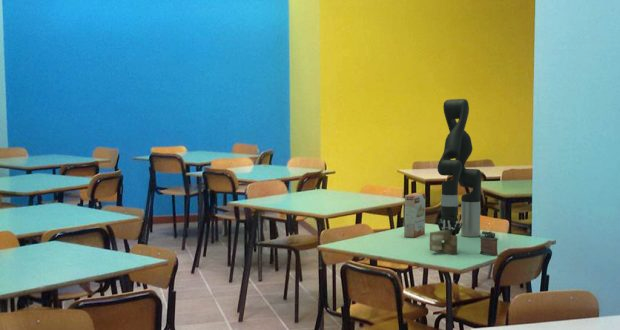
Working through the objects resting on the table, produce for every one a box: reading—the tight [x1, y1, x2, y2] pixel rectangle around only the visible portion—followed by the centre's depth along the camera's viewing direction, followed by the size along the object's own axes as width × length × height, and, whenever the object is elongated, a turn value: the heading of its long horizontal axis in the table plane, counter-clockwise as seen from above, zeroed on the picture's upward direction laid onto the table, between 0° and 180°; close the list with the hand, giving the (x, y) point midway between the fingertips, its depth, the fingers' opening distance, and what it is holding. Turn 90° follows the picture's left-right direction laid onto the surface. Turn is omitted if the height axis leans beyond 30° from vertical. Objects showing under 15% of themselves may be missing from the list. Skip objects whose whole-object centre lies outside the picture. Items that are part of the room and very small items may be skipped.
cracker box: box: [403, 192, 426, 239], centre depth 377 cm, size 14×6×21 cm, turn 150°
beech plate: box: [429, 229, 457, 252], centre depth 335 cm, size 2×14×8 cm, turn 127°
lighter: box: [479, 230, 499, 257], centre depth 329 cm, size 8×3×10 cm, turn 48°
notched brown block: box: [436, 235, 458, 256], centre depth 335 cm, size 14×2×8 cm, turn 38°
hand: (449, 243), depth 338 cm, fingers closed on beech plate, 2 cm apart
